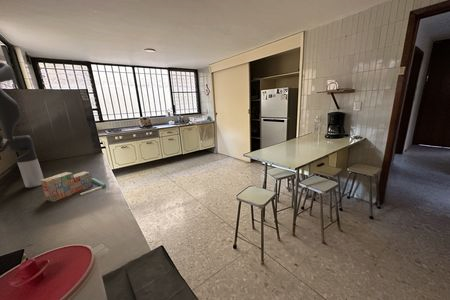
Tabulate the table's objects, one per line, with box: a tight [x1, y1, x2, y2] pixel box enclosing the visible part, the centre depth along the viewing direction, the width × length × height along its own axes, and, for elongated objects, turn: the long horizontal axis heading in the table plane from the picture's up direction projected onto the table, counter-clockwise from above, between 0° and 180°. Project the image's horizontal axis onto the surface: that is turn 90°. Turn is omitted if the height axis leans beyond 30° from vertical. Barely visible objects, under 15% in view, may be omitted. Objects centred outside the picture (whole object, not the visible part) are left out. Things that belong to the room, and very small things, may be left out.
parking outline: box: [79, 177, 107, 196], centre depth 115 cm, size 19×13×2 cm
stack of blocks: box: [41, 171, 94, 203], centre depth 108 cm, size 21×6×12 cm, turn 157°
